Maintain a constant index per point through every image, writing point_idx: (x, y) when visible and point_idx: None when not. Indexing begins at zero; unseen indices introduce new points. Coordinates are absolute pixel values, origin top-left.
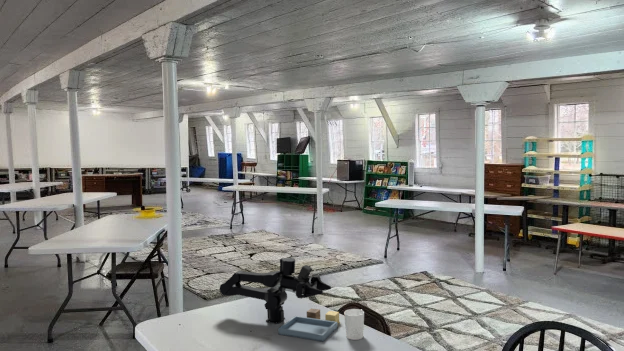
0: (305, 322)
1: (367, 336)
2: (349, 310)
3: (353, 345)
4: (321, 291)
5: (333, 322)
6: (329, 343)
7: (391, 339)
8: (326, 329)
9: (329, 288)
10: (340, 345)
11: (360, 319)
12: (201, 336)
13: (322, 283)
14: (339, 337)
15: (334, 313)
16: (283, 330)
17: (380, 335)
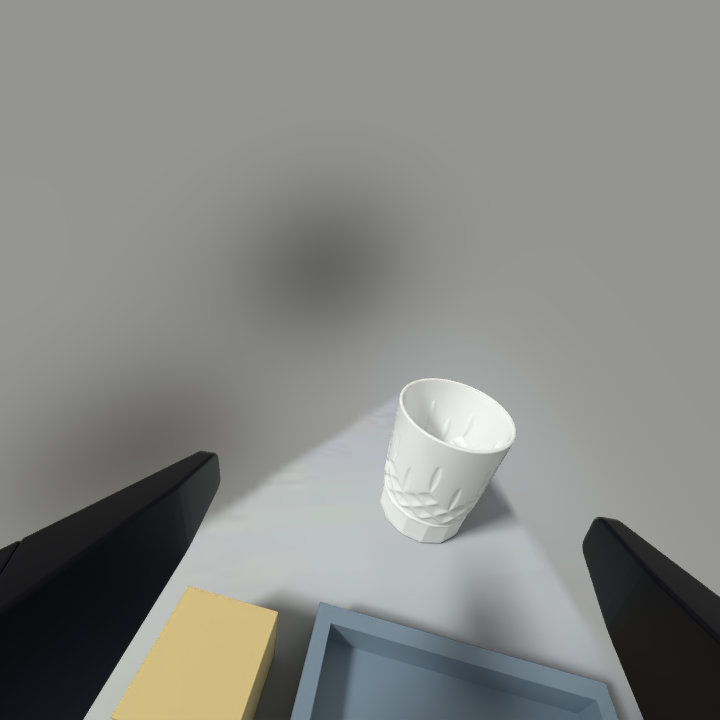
0: None
1: None
2: (421, 433)
3: (509, 505)
4: (628, 536)
5: (326, 638)
6: (569, 637)
7: None
8: (394, 717)
9: (211, 491)
10: (547, 563)
11: (470, 408)
12: None
13: (16, 610)
14: (461, 583)
15: (219, 627)
16: None
17: (377, 422)
